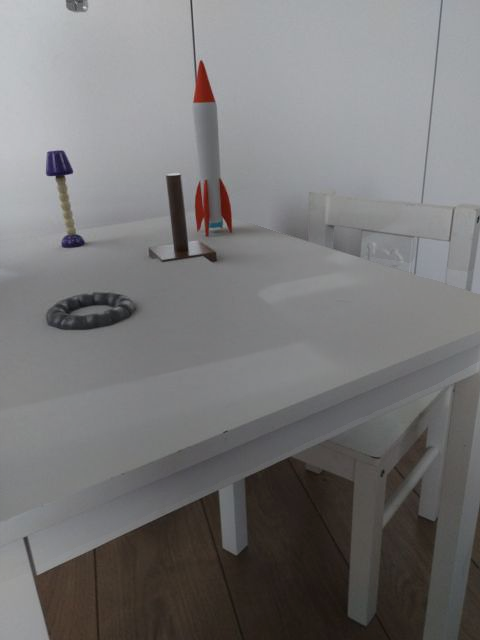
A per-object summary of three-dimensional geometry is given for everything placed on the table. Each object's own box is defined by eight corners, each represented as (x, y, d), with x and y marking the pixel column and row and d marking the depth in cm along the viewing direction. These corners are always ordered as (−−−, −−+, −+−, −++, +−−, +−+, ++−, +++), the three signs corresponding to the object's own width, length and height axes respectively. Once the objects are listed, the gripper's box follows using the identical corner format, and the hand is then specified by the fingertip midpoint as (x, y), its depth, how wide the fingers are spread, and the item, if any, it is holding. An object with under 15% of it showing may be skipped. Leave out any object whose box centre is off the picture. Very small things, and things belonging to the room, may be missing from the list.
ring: (53, 345, 64) (48, 326, 63) (45, 316, 73) (41, 298, 72) (144, 328, 68) (141, 309, 67) (126, 302, 76) (123, 284, 75)
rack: (163, 269, 90) (152, 180, 84) (149, 256, 97) (138, 174, 91) (216, 260, 93) (210, 174, 87) (199, 248, 100) (192, 168, 95)
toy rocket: (233, 232, 110) (223, 58, 98) (206, 236, 108) (192, 59, 95) (222, 227, 115) (211, 60, 102) (196, 231, 113) (181, 61, 100)
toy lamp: (54, 245, 107) (36, 151, 100) (75, 240, 110) (58, 149, 103) (71, 248, 104) (53, 152, 97) (91, 242, 108) (75, 149, 101)
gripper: (44, -139, 57) (69, 19, 63) (-84, -245, 39) (-32, -8, 45) (105, -145, 57) (125, 15, 63) (4, -255, 38) (46, -13, 44)
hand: (59, 5), depth 53 cm, fingers open, 8 cm apart
